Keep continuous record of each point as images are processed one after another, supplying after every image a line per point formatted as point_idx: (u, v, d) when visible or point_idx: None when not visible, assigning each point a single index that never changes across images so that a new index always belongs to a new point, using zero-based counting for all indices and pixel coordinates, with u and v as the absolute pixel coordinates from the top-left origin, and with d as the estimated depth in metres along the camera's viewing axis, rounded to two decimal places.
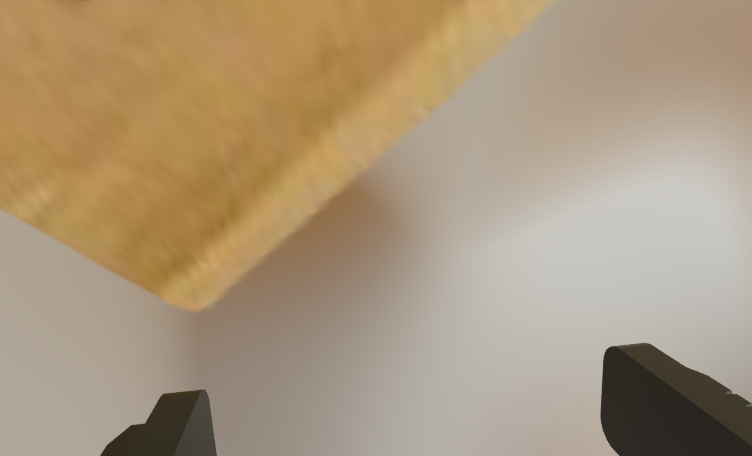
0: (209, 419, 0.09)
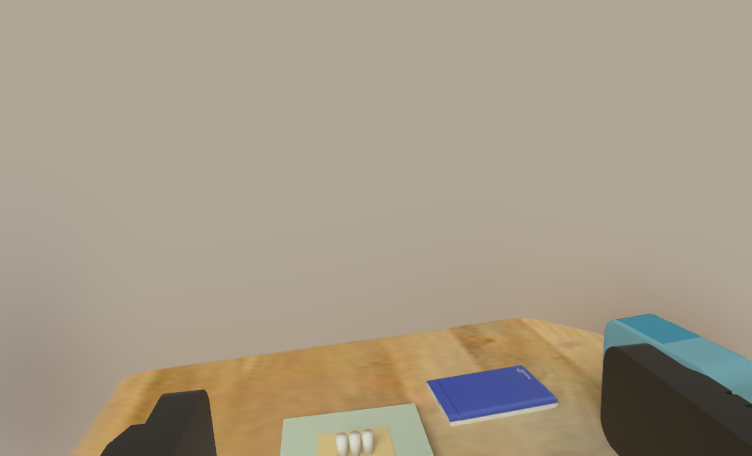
0: (209, 419, 0.09)
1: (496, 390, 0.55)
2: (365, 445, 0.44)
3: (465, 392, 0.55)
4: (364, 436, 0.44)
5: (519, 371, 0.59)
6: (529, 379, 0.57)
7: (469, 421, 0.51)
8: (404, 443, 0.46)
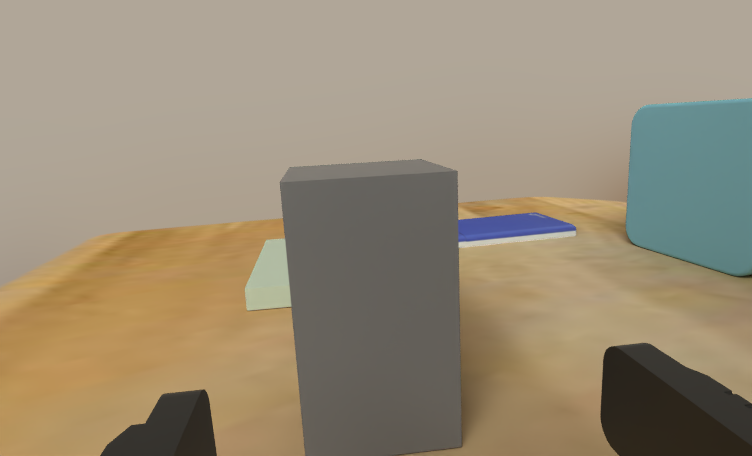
0: (209, 419, 0.09)
1: (507, 223, 0.49)
2: None
3: (472, 225, 0.49)
4: None
5: (532, 215, 0.53)
6: (544, 217, 0.51)
7: (476, 243, 0.45)
8: None
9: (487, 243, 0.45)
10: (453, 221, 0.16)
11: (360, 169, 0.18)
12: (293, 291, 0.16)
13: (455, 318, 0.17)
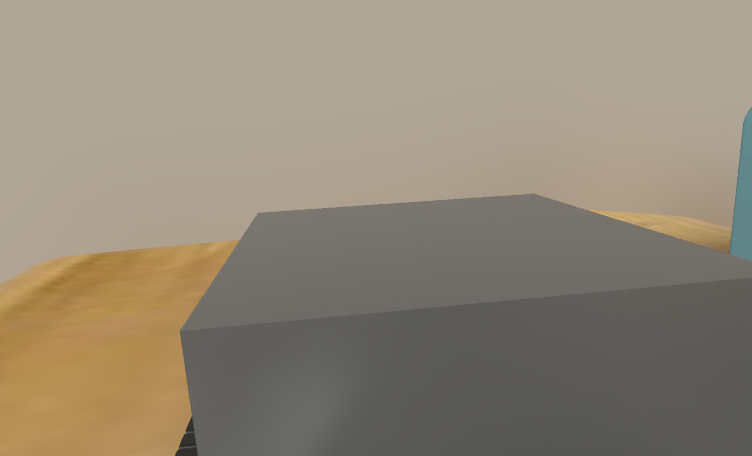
0: None
1: None
2: None
3: None
4: None
5: None
6: None
7: None
8: None
9: None
10: None
11: (431, 236, 0.07)
12: None
13: None
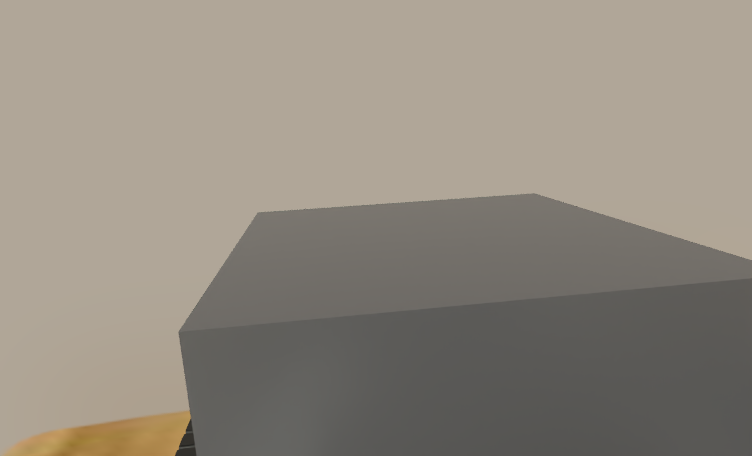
0: None
1: None
2: None
3: None
4: None
5: None
6: None
7: None
8: None
9: None
10: None
11: (431, 236, 0.07)
12: None
13: None
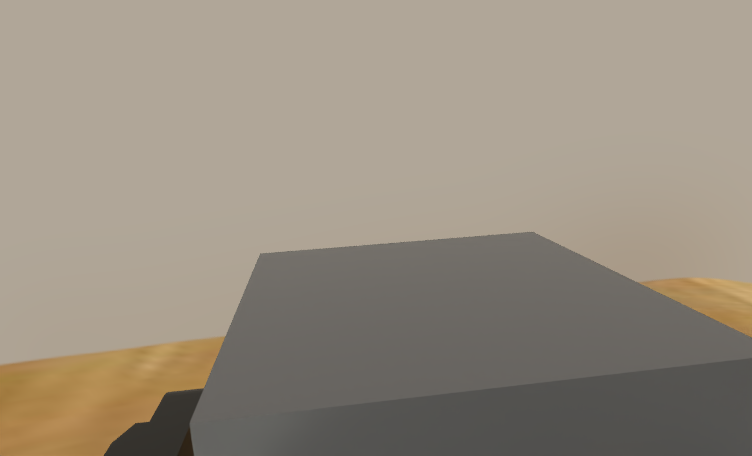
0: None
1: None
2: None
3: None
4: None
5: None
6: None
7: None
8: None
9: None
10: None
11: (432, 292, 0.07)
12: None
13: None
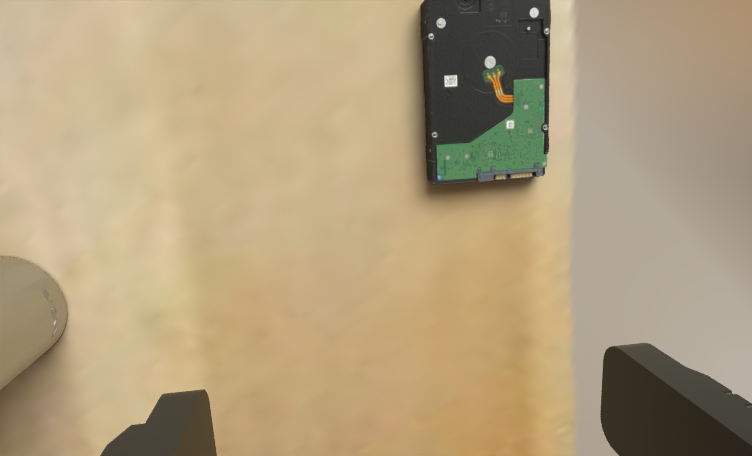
0: (209, 419, 0.09)
1: None
2: None
3: None
4: None
5: None
6: None
7: None
8: None
9: None
10: None
11: None
12: None
13: None
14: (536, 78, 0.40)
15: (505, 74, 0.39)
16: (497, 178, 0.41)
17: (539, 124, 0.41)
